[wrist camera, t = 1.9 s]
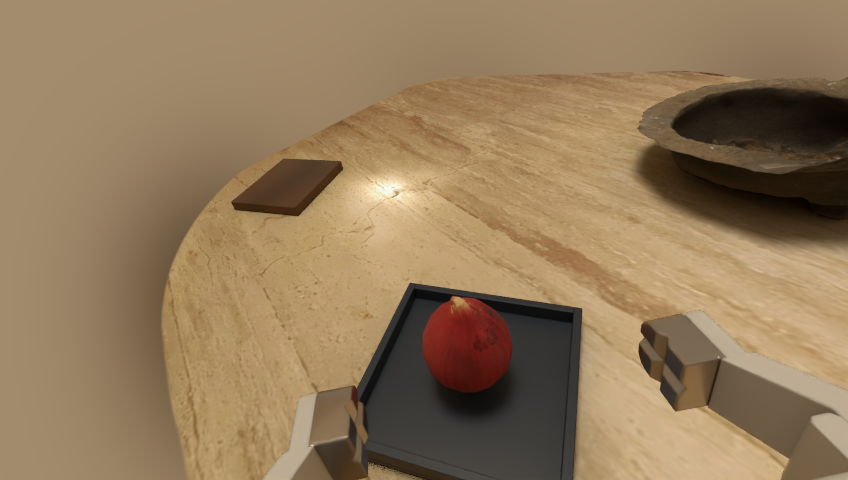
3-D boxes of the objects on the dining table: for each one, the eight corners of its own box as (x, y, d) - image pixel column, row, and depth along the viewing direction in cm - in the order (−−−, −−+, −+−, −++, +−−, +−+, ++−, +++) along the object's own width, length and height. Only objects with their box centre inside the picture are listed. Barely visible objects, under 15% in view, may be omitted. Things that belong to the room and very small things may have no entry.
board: (234, 209, 53) (230, 201, 53) (286, 165, 62) (283, 158, 61) (298, 215, 50) (294, 207, 49) (343, 168, 59) (341, 160, 58)
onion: (504, 340, 31) (503, 262, 26) (519, 412, 26) (521, 333, 21) (428, 347, 31) (413, 271, 26) (430, 419, 27) (412, 343, 22)
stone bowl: (1018, 244, 32) (1114, 135, 26) (662, 258, 38) (679, 173, 33) (832, 117, 50) (866, 37, 45) (614, 140, 57) (620, 73, 51)
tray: (338, 451, 26) (331, 438, 25) (412, 295, 37) (409, 282, 36) (568, 525, 22) (571, 513, 21) (579, 322, 32) (582, 307, 31)
